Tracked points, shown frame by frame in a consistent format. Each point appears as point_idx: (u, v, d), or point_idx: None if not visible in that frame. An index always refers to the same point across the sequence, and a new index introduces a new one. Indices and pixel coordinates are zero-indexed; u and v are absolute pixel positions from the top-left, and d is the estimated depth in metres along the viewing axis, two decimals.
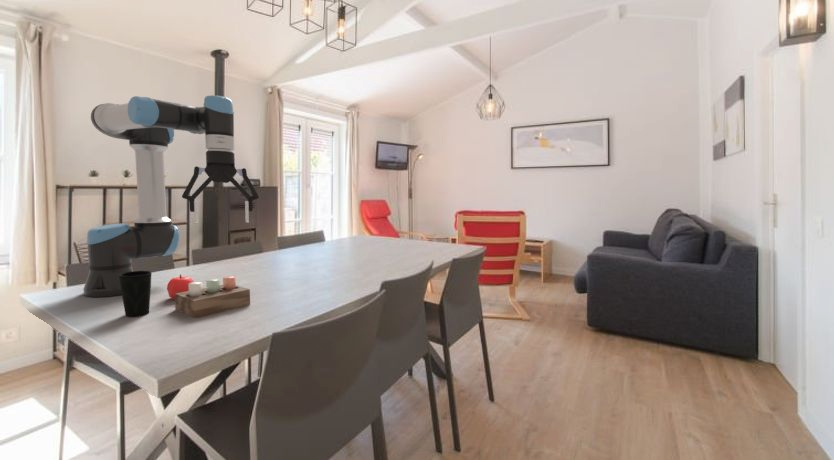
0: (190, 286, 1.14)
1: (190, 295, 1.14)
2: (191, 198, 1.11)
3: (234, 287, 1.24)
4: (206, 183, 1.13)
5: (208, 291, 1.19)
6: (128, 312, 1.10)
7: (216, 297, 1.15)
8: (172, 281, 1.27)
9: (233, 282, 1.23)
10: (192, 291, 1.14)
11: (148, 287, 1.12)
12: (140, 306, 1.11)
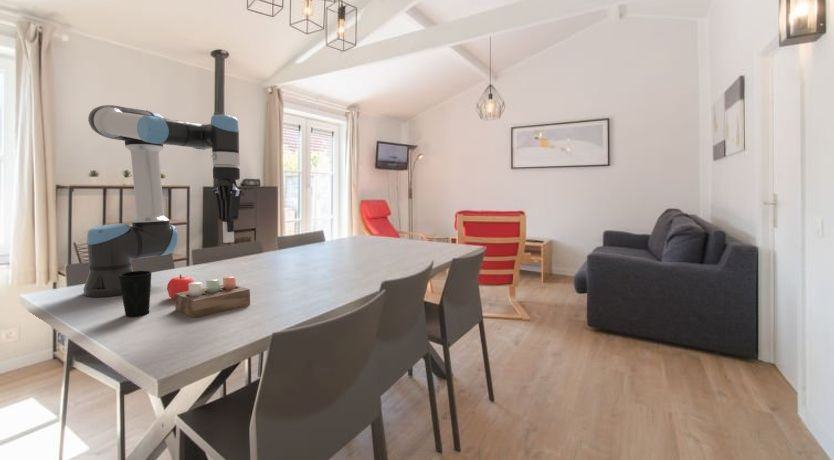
0: (190, 286, 1.14)
1: (190, 295, 1.14)
2: (221, 219, 1.22)
3: (234, 287, 1.24)
4: (221, 200, 1.21)
5: (208, 291, 1.19)
6: (128, 312, 1.10)
7: (216, 297, 1.15)
8: (172, 281, 1.27)
9: (233, 282, 1.23)
10: (192, 291, 1.14)
11: (148, 287, 1.12)
12: (140, 306, 1.11)
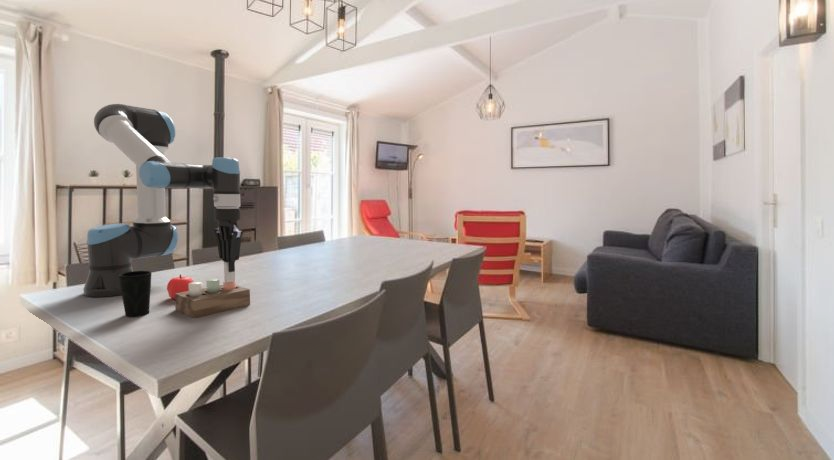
0: (190, 286, 1.14)
1: (190, 295, 1.14)
2: (222, 259, 1.23)
3: None
4: (222, 241, 1.23)
5: (208, 291, 1.19)
6: (128, 312, 1.10)
7: (216, 297, 1.15)
8: (172, 281, 1.27)
9: (233, 287, 1.24)
10: (192, 291, 1.14)
11: (148, 287, 1.12)
12: (140, 306, 1.11)
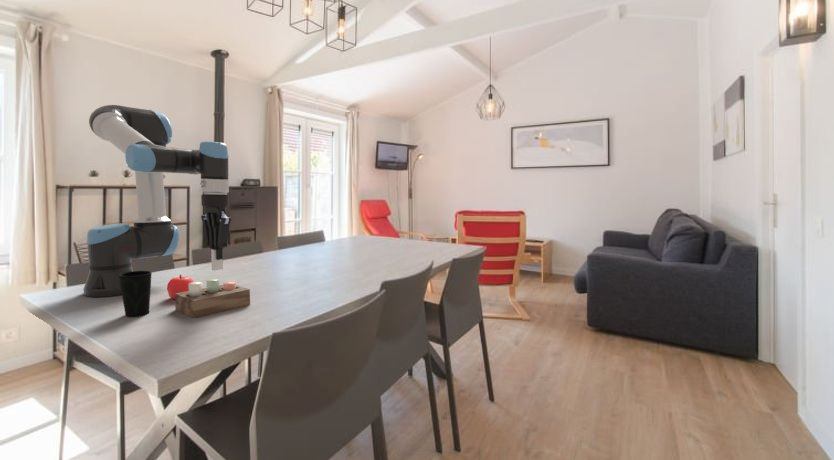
0: (190, 286, 1.14)
1: (190, 295, 1.14)
2: (210, 246, 1.20)
3: None
4: (210, 227, 1.19)
5: (208, 291, 1.19)
6: (128, 312, 1.10)
7: (216, 297, 1.15)
8: (172, 281, 1.27)
9: (233, 288, 1.24)
10: (192, 291, 1.14)
11: (148, 287, 1.12)
12: (140, 306, 1.11)
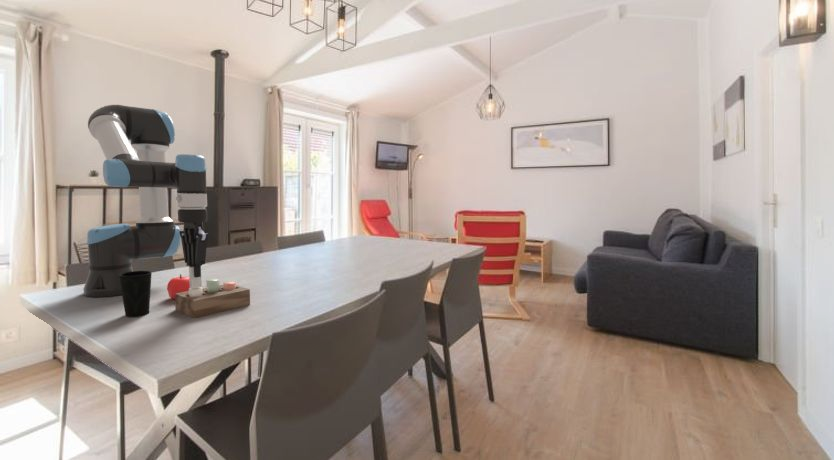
0: (190, 291, 1.14)
1: None
2: (188, 263, 1.15)
3: None
4: (187, 244, 1.14)
5: (208, 291, 1.19)
6: (128, 312, 1.10)
7: (216, 297, 1.15)
8: (172, 281, 1.27)
9: (233, 288, 1.24)
10: (192, 296, 1.14)
11: (148, 287, 1.12)
12: (140, 306, 1.11)
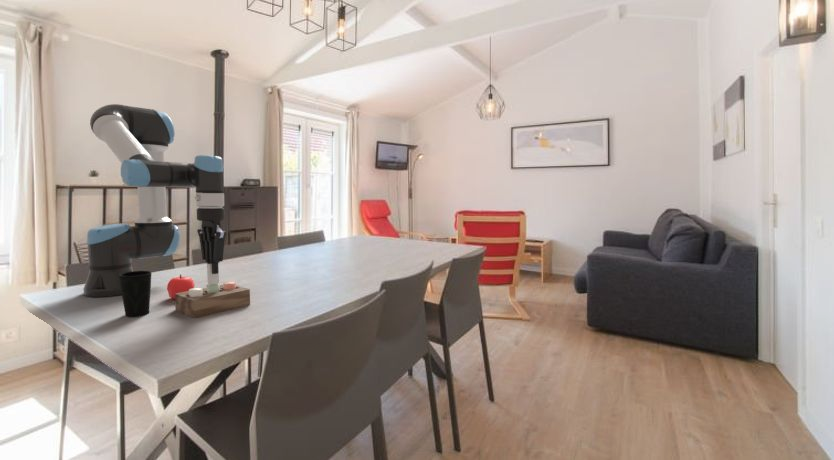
0: (190, 292, 1.14)
1: None
2: (206, 260, 1.19)
3: None
4: (205, 241, 1.18)
5: None
6: (128, 312, 1.10)
7: (216, 297, 1.15)
8: (172, 281, 1.27)
9: (233, 288, 1.24)
10: (192, 297, 1.14)
11: (148, 287, 1.12)
12: (140, 306, 1.11)
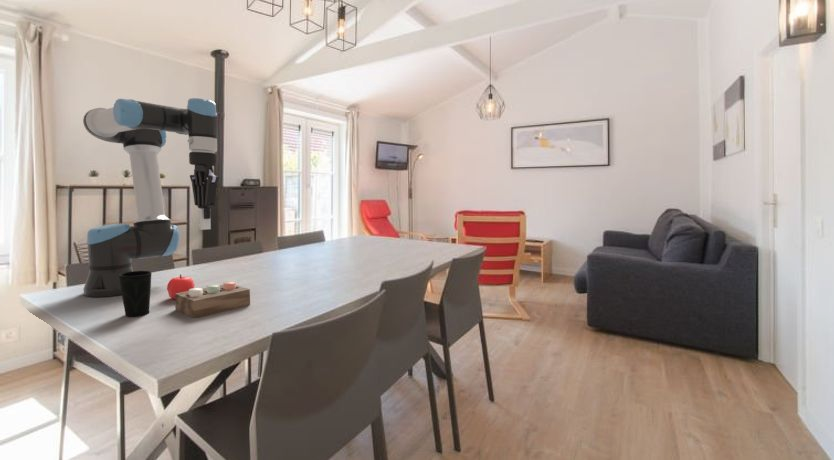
0: (190, 292, 1.14)
1: None
2: (198, 206, 1.19)
3: None
4: (198, 186, 1.19)
5: None
6: (128, 312, 1.10)
7: (216, 297, 1.15)
8: (172, 281, 1.27)
9: (233, 288, 1.24)
10: (192, 297, 1.14)
11: (148, 287, 1.12)
12: (140, 306, 1.11)
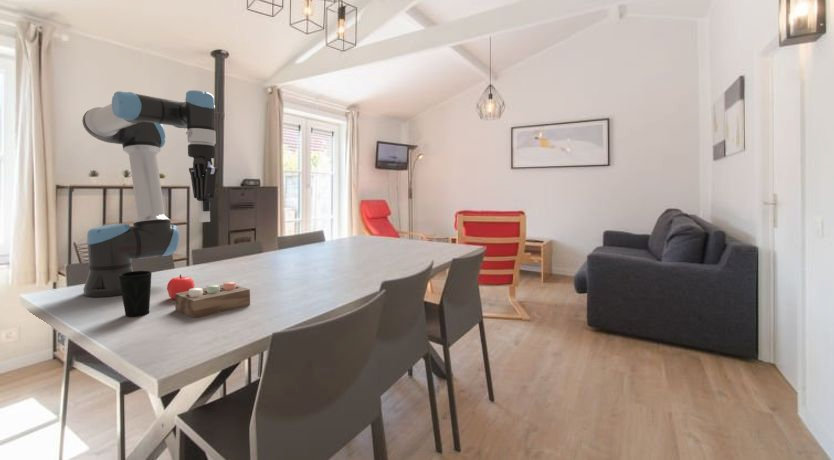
0: (190, 292, 1.14)
1: None
2: (197, 198, 1.19)
3: None
4: (197, 179, 1.19)
5: None
6: (128, 312, 1.10)
7: (216, 297, 1.15)
8: (172, 281, 1.27)
9: (233, 288, 1.24)
10: (192, 297, 1.14)
11: (148, 287, 1.12)
12: (140, 306, 1.11)
